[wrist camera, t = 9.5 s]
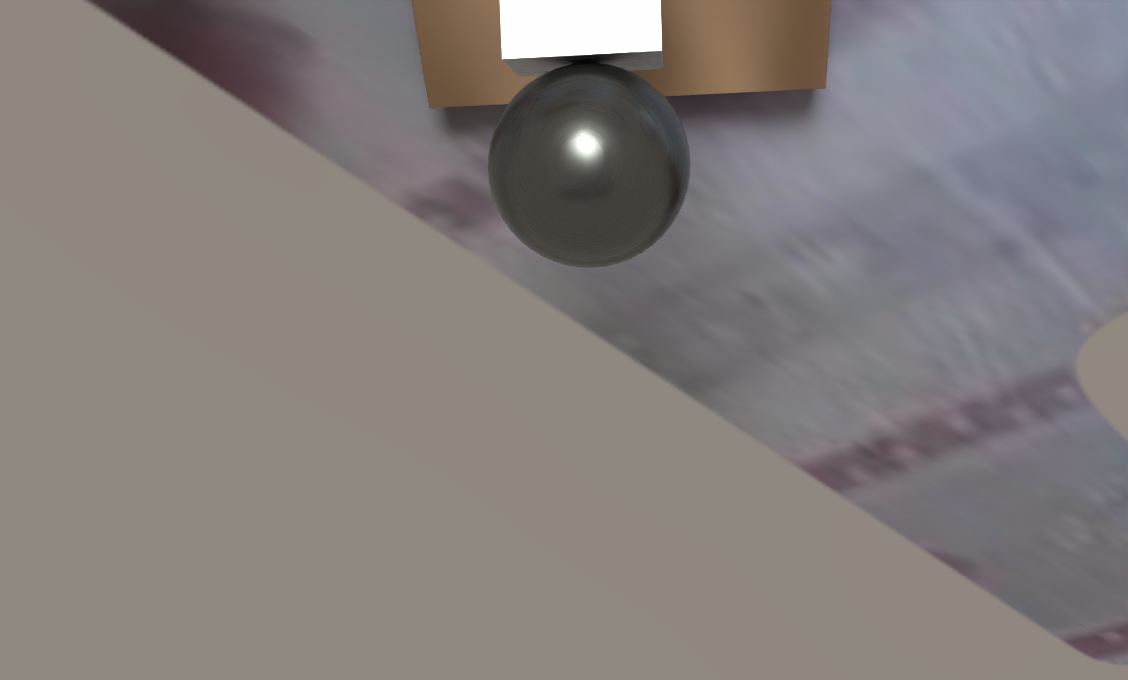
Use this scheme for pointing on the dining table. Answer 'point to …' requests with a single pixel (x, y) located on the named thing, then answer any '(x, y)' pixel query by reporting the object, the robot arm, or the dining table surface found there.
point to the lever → (587, 132)
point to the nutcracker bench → (690, 67)
